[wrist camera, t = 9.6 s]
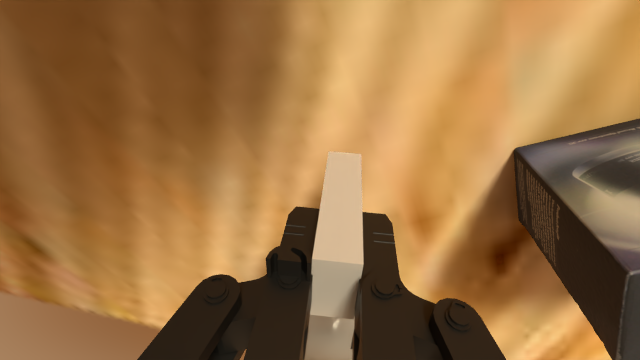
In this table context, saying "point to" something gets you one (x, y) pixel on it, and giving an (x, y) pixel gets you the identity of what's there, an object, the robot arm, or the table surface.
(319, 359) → the beige rounded piece
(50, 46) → the table surface
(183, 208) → the table surface
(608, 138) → the small box
